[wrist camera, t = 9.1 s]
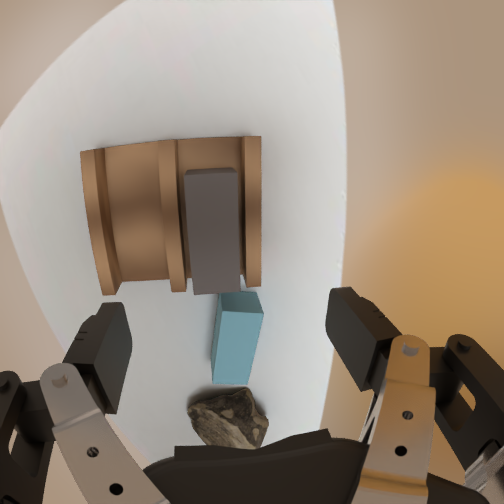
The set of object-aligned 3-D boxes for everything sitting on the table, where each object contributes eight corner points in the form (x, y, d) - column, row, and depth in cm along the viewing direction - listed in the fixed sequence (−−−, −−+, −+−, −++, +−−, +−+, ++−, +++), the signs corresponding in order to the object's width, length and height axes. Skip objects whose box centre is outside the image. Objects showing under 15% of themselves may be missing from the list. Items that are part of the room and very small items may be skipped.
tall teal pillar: (242, 359, 32) (247, 384, 28) (210, 358, 31) (212, 383, 28) (256, 291, 29) (263, 313, 25) (219, 288, 28) (222, 310, 25)
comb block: (254, 268, 28) (260, 286, 25) (112, 277, 26) (102, 295, 23) (253, 136, 23) (261, 136, 20) (95, 149, 21) (80, 151, 18)
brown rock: (167, 402, 32) (201, 451, 24) (222, 361, 36) (269, 398, 28) (207, 443, 36) (244, 485, 28) (253, 406, 40) (297, 441, 32)
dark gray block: (235, 269, 26) (240, 291, 23) (194, 272, 26) (193, 294, 22) (232, 167, 23) (237, 172, 19) (187, 169, 23) (183, 175, 19)
